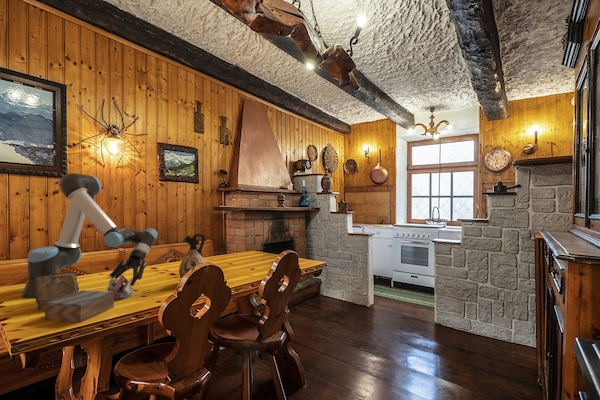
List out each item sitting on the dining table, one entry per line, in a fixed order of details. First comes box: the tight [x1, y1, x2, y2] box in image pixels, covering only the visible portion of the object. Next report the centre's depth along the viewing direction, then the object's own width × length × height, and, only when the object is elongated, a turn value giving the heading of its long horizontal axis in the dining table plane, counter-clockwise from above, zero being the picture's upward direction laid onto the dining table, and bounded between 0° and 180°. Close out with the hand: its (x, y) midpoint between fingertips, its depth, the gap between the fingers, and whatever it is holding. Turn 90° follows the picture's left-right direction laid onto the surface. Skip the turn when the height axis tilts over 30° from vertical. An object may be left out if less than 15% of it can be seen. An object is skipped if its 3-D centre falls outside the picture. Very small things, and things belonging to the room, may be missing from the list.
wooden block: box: [44, 290, 115, 323], centre depth 124 cm, size 16×17×7 cm
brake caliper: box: [108, 274, 134, 300], centre depth 146 cm, size 11×11×12 cm
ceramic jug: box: [178, 232, 207, 279], centre depth 173 cm, size 17×15×30 cm
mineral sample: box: [35, 271, 80, 311], centre depth 131 cm, size 17×4×15 cm, turn 112°
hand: (117, 290), depth 144 cm, fingers closed on brake caliper, 9 cm apart
